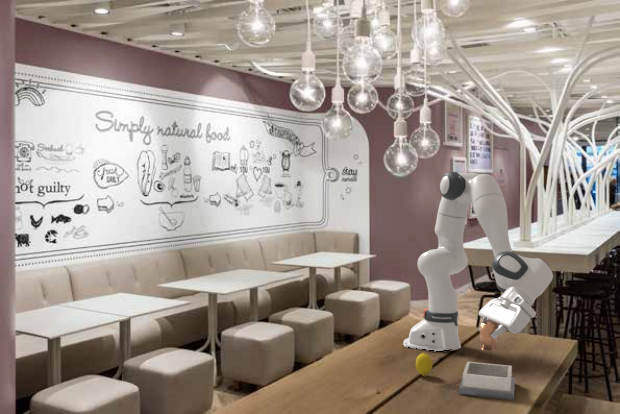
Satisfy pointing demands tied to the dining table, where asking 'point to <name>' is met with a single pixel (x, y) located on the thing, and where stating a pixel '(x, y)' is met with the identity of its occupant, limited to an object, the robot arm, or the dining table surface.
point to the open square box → (488, 381)
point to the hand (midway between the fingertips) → (486, 334)
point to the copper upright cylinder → (487, 335)
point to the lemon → (424, 364)
